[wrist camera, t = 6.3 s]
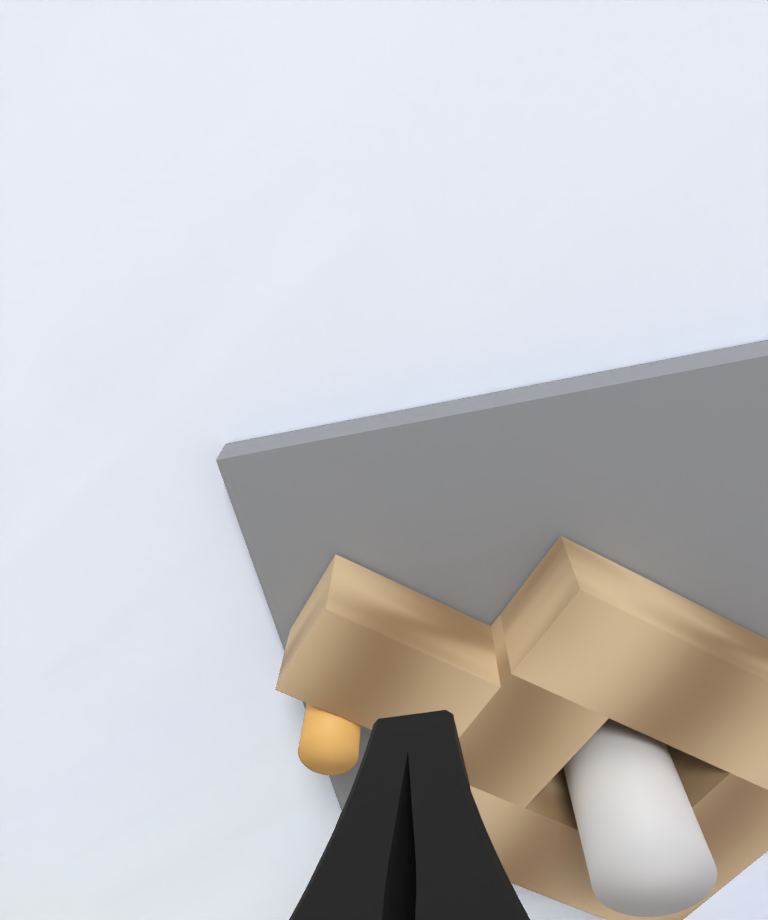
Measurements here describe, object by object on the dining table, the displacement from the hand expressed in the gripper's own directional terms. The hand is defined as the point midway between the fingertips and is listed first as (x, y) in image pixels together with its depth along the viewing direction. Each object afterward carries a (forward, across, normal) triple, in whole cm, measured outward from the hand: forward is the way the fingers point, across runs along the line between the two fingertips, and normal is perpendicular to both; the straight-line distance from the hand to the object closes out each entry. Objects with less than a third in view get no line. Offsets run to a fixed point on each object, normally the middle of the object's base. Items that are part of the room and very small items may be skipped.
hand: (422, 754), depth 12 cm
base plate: (+8, -4, +6) cm, 11 cm away
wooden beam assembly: (+7, -2, +6) cm, 10 cm away
